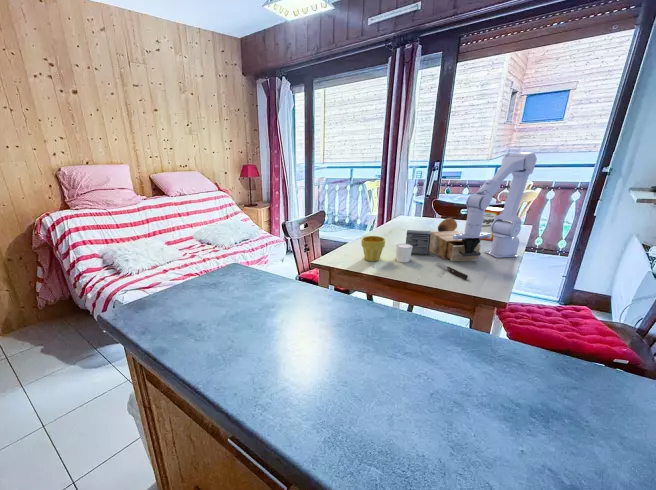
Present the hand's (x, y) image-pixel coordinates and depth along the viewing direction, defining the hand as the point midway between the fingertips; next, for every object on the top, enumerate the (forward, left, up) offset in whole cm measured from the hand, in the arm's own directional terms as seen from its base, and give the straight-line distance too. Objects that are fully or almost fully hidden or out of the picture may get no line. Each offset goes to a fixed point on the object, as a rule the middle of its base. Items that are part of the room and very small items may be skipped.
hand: (468, 255), depth 139 cm
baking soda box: (-29, -34, -4) cm, 45 cm away
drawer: (0, -6, -3) cm, 7 cm away
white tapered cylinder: (+24, -9, -4) cm, 26 cm away
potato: (-15, -46, 0) cm, 49 cm away
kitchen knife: (+11, +7, -4) cm, 14 cm away
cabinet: (0, -15, -4) cm, 16 cm away
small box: (+14, -18, -4) cm, 23 cm away
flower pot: (+37, -13, -4) cm, 39 cm away
